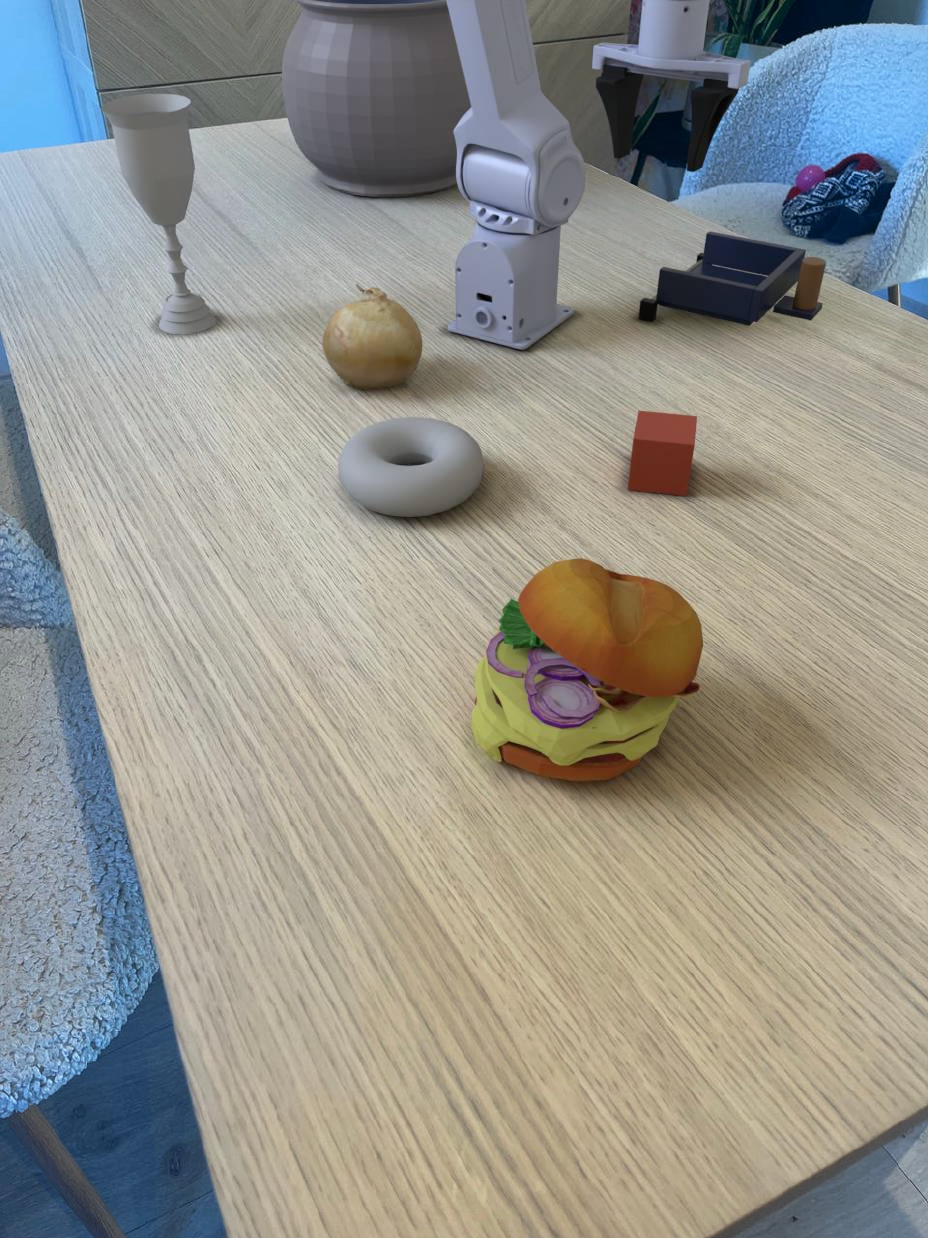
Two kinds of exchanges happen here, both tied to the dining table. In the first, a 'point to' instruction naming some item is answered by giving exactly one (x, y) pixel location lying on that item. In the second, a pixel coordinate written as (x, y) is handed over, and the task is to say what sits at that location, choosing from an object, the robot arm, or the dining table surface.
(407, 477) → the donut
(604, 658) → the cheeseburger
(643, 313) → the black bar
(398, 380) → the onion
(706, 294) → the dark navy tray
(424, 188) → the grey pot
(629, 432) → the dining table surface
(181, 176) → the chalice
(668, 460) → the block
